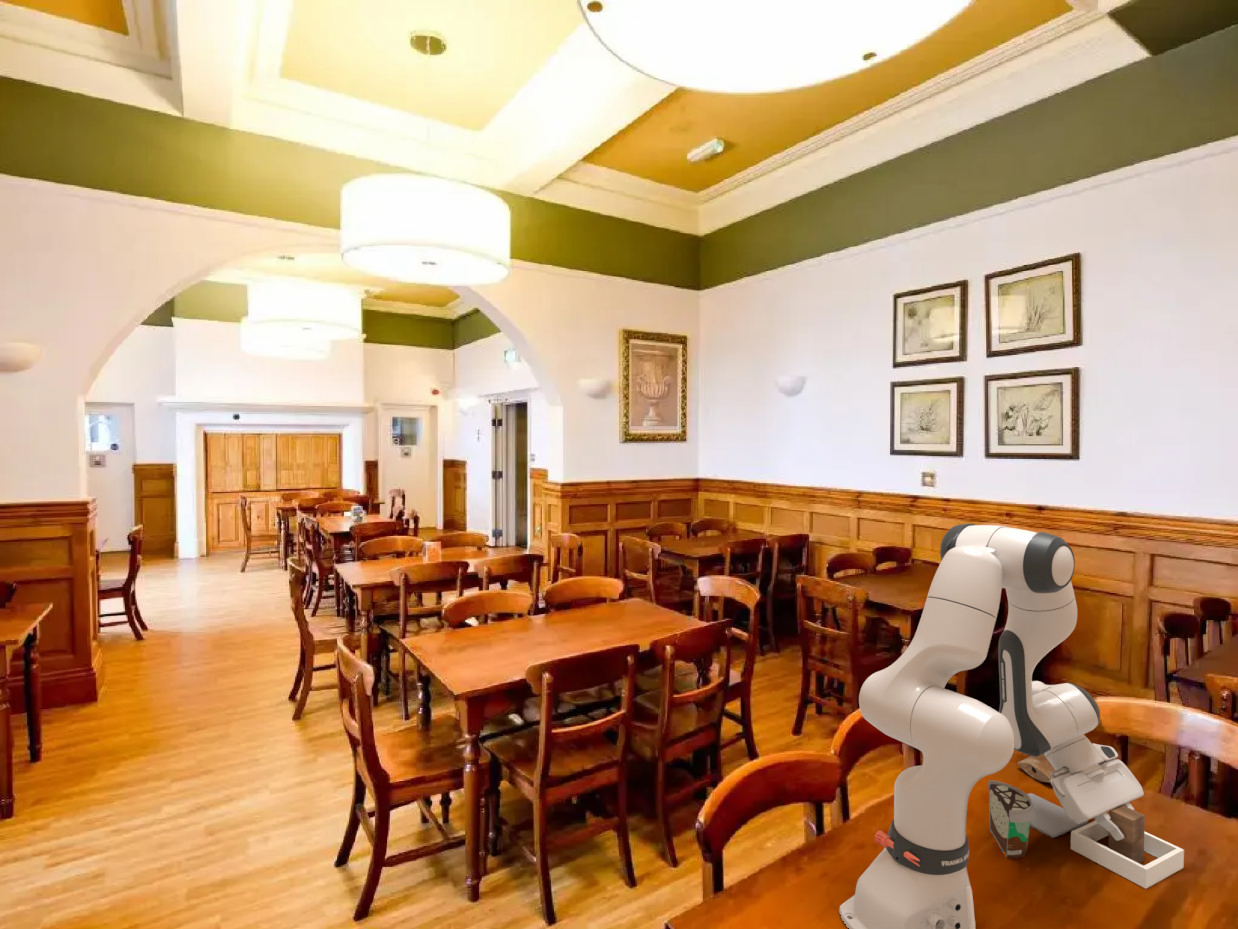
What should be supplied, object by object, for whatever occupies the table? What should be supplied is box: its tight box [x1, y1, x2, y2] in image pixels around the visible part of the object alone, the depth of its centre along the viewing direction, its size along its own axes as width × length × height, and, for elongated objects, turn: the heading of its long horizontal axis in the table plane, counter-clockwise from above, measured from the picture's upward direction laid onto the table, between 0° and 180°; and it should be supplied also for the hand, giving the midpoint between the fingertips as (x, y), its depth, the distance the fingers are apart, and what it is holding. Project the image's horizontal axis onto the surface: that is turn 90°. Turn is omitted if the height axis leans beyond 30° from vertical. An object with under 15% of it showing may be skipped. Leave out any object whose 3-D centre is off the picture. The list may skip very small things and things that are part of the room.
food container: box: [987, 779, 1035, 860], centre depth 131 cm, size 12×6×10 cm, turn 168°
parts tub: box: [1070, 820, 1185, 889], centre depth 127 cm, size 13×13×4 cm
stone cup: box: [1017, 753, 1055, 784], centre depth 160 cm, size 15×12×15 cm
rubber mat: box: [1026, 792, 1089, 839], centre depth 141 cm, size 12×12×1 cm
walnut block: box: [1108, 805, 1146, 864], centre depth 127 cm, size 4×4×9 cm
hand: (1130, 835), depth 126 cm, fingers closed on walnut block, 4 cm apart
